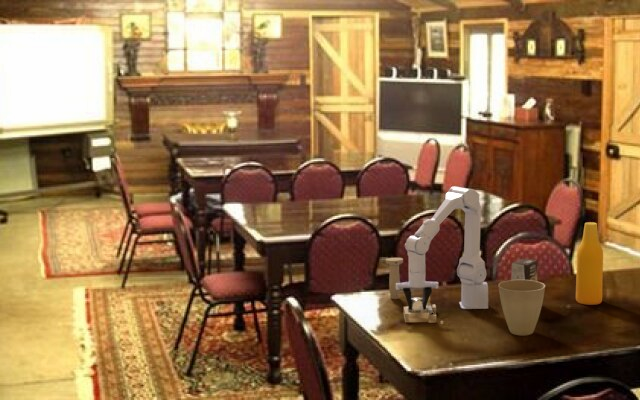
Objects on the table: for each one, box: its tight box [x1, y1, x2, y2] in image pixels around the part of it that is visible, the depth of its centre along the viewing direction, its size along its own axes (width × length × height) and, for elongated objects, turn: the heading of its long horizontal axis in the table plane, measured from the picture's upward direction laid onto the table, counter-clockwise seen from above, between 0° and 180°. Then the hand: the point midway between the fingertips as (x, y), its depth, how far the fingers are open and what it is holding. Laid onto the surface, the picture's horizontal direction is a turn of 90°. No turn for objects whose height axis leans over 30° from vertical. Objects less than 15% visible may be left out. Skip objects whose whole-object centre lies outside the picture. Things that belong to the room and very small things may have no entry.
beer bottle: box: [575, 221, 604, 306], centre depth 337 cm, size 9×9×29 cm
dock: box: [403, 303, 437, 324], centre depth 325 cm, size 11×14×3 cm
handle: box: [385, 257, 404, 300], centre depth 348 cm, size 5×6×15 cm
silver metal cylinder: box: [411, 296, 424, 313], centre depth 323 cm, size 5×5×6 cm
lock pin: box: [426, 296, 433, 315], centre depth 331 cm, size 1×11×5 cm, turn 179°
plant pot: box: [497, 279, 546, 336], centre depth 304 cm, size 15×15×16 cm
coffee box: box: [510, 258, 538, 281], centre depth 336 cm, size 9×6×16 cm
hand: (417, 308), depth 323 cm, fingers closed on silver metal cylinder, 4 cm apart
